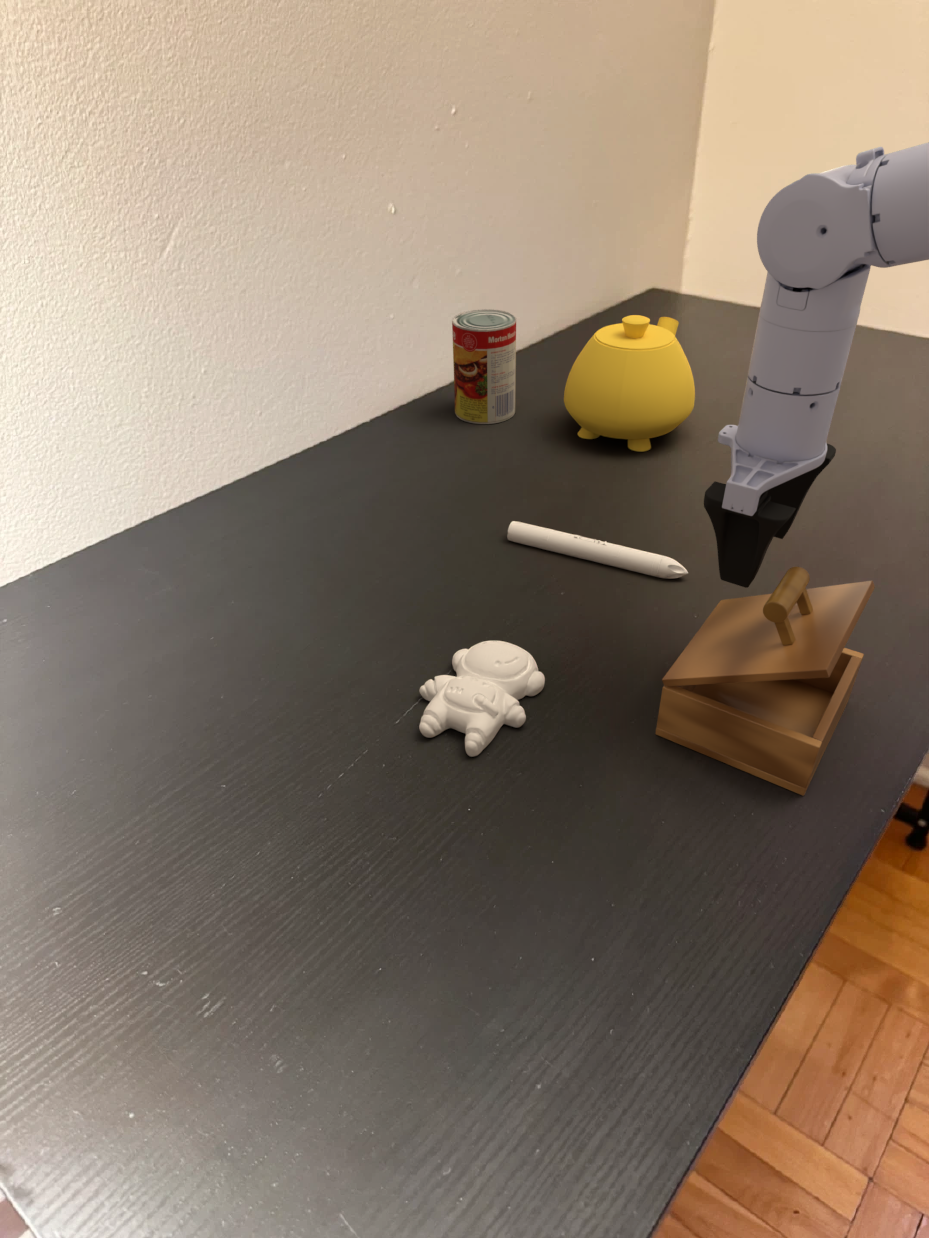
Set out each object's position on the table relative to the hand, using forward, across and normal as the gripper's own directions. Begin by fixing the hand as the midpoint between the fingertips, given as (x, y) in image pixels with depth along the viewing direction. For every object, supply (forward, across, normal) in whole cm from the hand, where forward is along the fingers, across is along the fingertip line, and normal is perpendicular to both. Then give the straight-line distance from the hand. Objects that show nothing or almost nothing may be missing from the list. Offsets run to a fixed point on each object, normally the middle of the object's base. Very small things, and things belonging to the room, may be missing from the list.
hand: (753, 556), depth 62 cm
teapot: (+11, -39, -27) cm, 48 cm away
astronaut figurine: (+11, +15, -15) cm, 23 cm away
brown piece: (+3, +5, +3) cm, 7 cm away
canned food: (+11, -32, -45) cm, 56 cm away
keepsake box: (+10, +5, +4) cm, 12 cm away
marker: (+11, -8, -16) cm, 22 cm away
